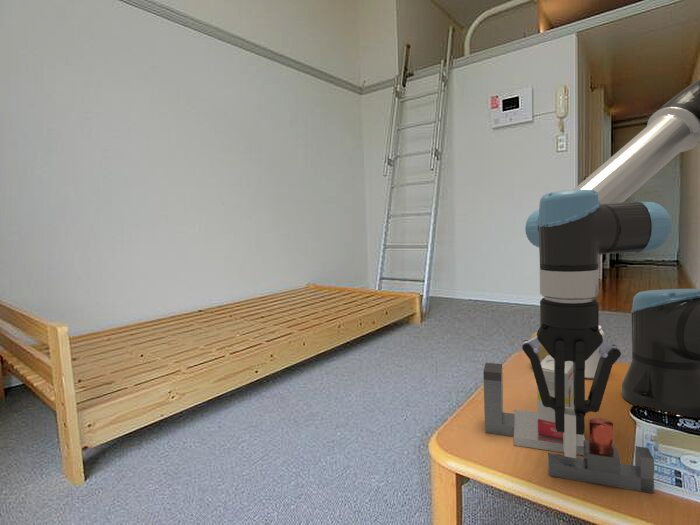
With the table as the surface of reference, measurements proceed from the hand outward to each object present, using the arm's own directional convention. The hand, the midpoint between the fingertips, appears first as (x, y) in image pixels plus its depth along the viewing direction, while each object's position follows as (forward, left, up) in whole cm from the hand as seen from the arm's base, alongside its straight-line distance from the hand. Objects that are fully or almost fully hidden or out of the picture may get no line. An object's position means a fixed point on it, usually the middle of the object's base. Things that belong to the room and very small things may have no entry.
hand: (569, 452), depth 61 cm
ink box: (+1, -11, -2) cm, 12 cm away
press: (+5, -11, -3) cm, 13 cm away
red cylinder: (-4, 0, -1) cm, 4 cm away
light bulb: (+1, -46, -4) cm, 47 cm away
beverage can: (-8, -45, -4) cm, 46 cm away
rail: (-4, 0, -3) cm, 5 cm away
